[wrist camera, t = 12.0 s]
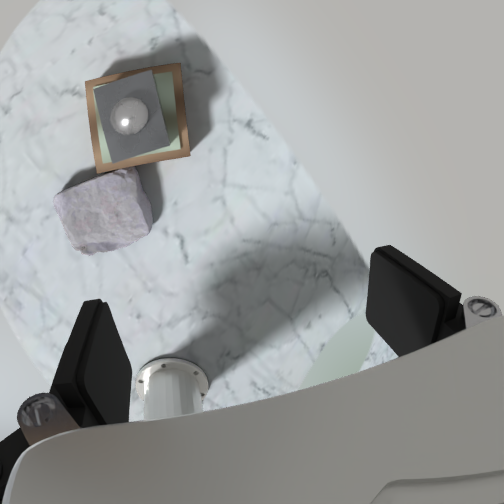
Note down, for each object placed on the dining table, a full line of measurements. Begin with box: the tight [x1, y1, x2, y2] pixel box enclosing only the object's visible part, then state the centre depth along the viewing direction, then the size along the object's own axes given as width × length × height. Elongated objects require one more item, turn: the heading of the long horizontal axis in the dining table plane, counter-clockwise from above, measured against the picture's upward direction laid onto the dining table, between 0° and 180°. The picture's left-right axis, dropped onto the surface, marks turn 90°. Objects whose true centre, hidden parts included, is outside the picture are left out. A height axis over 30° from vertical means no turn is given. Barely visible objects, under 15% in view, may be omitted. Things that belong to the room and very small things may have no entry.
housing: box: [93, 70, 171, 164], centre depth 29 cm, size 6×8×6 cm
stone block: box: [53, 166, 153, 256], centre depth 38 cm, size 12×5×10 cm
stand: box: [85, 63, 190, 174], centre depth 34 cm, size 11×11×4 cm
